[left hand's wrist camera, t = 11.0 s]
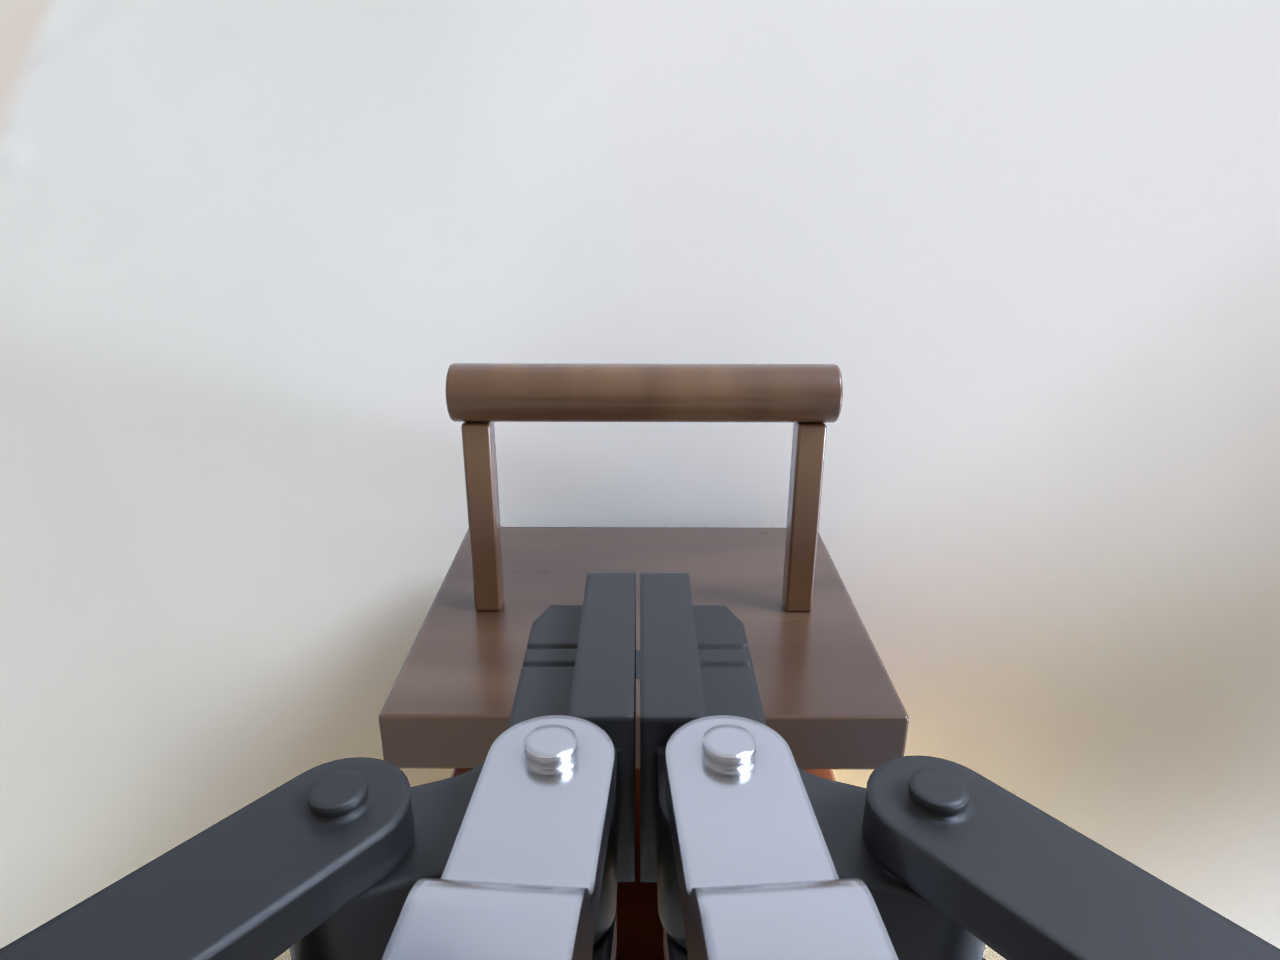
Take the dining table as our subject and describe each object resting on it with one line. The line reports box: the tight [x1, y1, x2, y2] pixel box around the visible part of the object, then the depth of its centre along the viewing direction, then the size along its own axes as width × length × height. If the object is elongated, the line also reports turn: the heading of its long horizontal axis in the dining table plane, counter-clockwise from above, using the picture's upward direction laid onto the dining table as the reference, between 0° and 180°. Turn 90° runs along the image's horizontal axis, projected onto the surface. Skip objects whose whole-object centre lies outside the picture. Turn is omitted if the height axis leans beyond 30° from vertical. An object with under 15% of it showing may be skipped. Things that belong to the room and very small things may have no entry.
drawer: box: [379, 364, 909, 960], centre depth 22 cm, size 24×10×9 cm, turn 0°
